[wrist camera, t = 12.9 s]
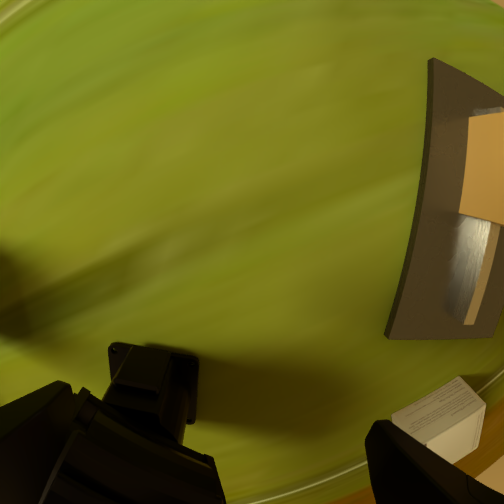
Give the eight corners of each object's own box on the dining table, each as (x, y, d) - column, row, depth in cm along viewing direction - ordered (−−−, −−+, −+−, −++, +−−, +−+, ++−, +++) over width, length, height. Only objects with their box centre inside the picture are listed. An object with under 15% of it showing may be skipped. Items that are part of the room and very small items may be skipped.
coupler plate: (487, 333, 21) (502, 345, 19) (383, 334, 21) (397, 350, 18) (526, 117, 17) (544, 115, 14) (427, 60, 16) (446, 51, 14)
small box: (457, 419, 24) (479, 448, 19) (395, 454, 25) (412, 488, 20) (459, 372, 23) (488, 402, 18) (388, 412, 23) (411, 451, 18)
